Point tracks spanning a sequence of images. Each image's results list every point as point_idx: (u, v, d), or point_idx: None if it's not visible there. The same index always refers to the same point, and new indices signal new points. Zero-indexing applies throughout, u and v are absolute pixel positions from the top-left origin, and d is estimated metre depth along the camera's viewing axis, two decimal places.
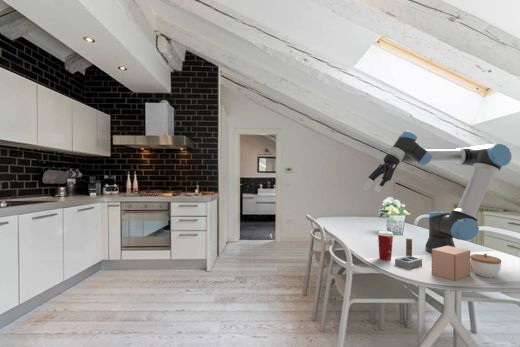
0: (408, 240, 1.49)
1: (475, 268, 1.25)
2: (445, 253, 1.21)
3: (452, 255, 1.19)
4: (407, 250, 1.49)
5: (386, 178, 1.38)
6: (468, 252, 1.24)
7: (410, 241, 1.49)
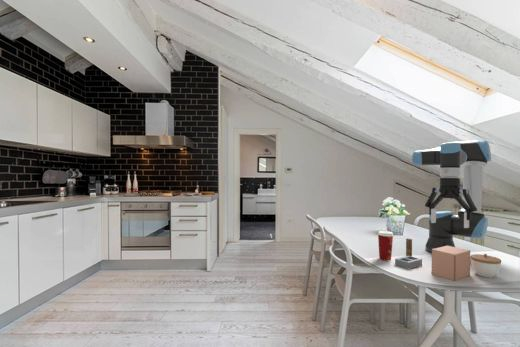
0: (408, 240, 1.49)
1: (475, 268, 1.25)
2: (445, 253, 1.21)
3: (452, 255, 1.19)
4: (407, 250, 1.49)
5: (474, 211, 1.17)
6: (468, 252, 1.24)
7: (410, 241, 1.49)
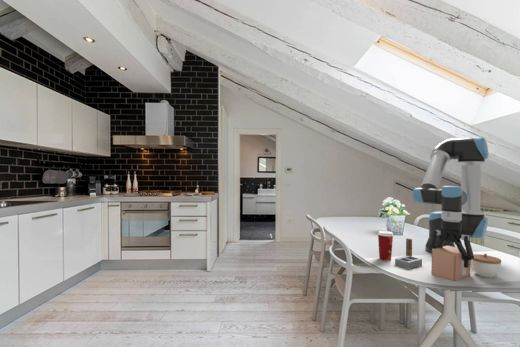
0: (408, 240, 1.49)
1: (475, 268, 1.25)
2: (445, 253, 1.21)
3: (452, 255, 1.19)
4: (407, 250, 1.49)
5: (471, 259, 1.18)
6: None
7: (410, 241, 1.49)
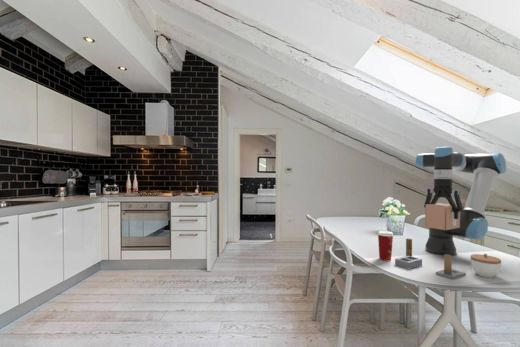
0: (408, 240, 1.49)
1: (475, 268, 1.25)
2: (437, 206, 1.34)
3: (443, 207, 1.32)
4: (407, 250, 1.49)
5: (460, 211, 1.31)
6: None
7: (410, 241, 1.49)
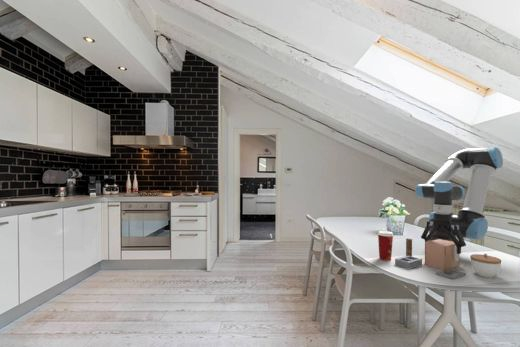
0: (408, 240, 1.49)
1: (475, 268, 1.25)
2: (437, 245, 1.34)
3: (443, 247, 1.32)
4: (407, 250, 1.49)
5: (463, 246, 1.30)
6: None
7: (410, 241, 1.49)
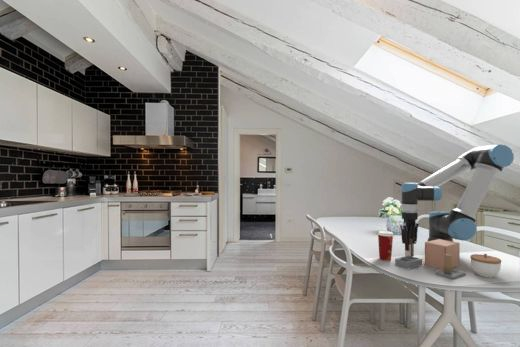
0: None
1: (475, 268, 1.25)
2: (437, 245, 1.34)
3: (443, 247, 1.32)
4: None
5: (403, 243, 1.48)
6: (457, 244, 1.37)
7: (410, 241, 1.49)
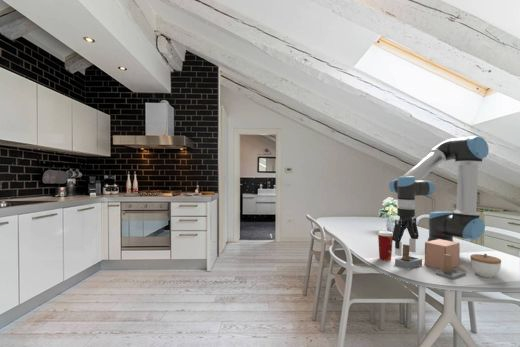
0: (405, 246, 1.36)
1: (475, 268, 1.25)
2: (437, 245, 1.34)
3: (443, 247, 1.32)
4: (403, 257, 1.36)
5: (393, 240, 1.32)
6: (457, 244, 1.37)
7: (407, 247, 1.35)
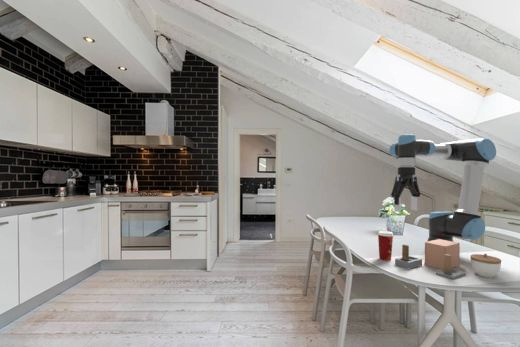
0: (404, 246, 1.36)
1: (475, 268, 1.25)
2: (437, 245, 1.34)
3: (443, 247, 1.32)
4: (403, 257, 1.36)
5: (392, 196, 1.32)
6: (457, 244, 1.37)
7: (407, 248, 1.35)
